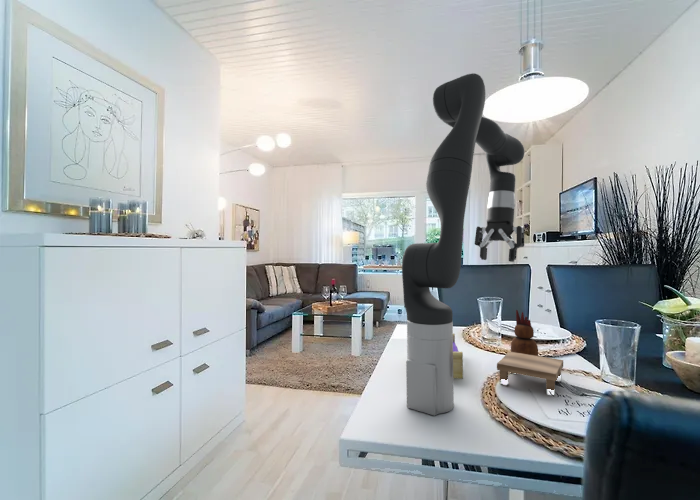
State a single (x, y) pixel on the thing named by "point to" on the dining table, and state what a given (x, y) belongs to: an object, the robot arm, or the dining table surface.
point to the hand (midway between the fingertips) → (497, 260)
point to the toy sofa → (457, 361)
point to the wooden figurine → (524, 337)
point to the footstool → (531, 367)
